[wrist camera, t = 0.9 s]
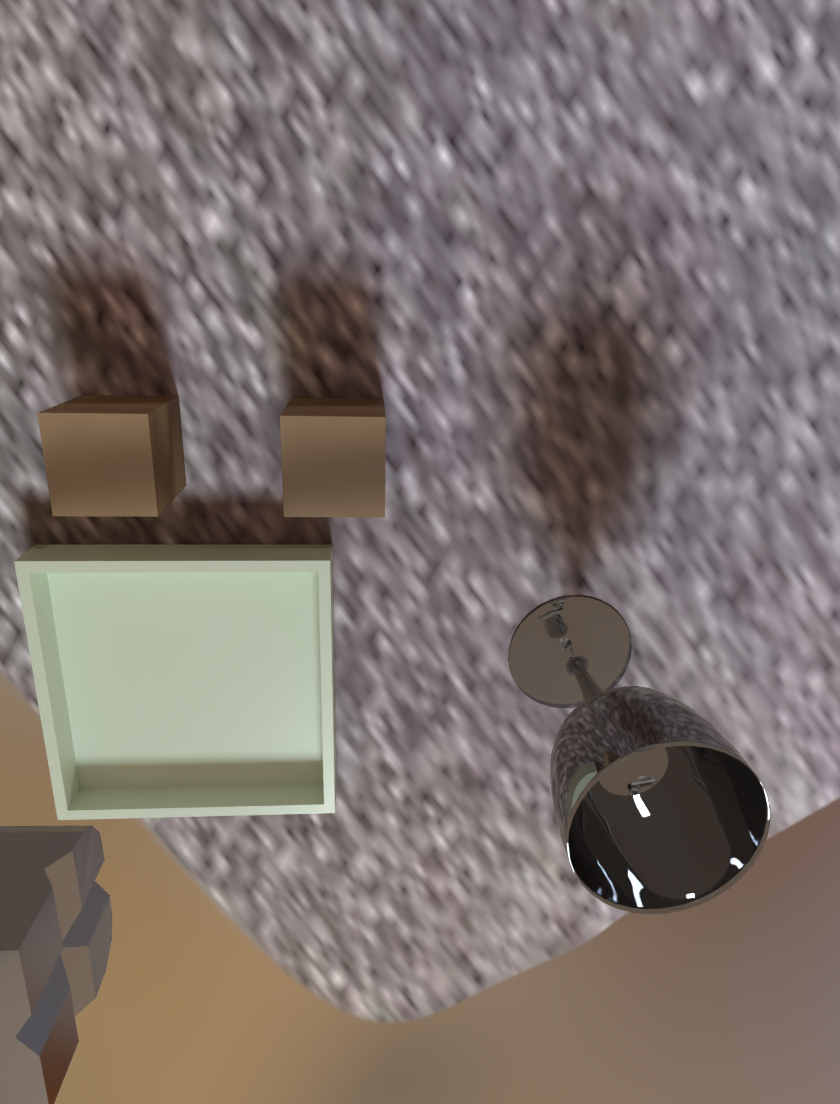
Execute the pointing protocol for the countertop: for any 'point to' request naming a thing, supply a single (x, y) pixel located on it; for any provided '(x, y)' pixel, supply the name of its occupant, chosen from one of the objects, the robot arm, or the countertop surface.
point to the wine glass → (635, 769)
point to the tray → (184, 677)
